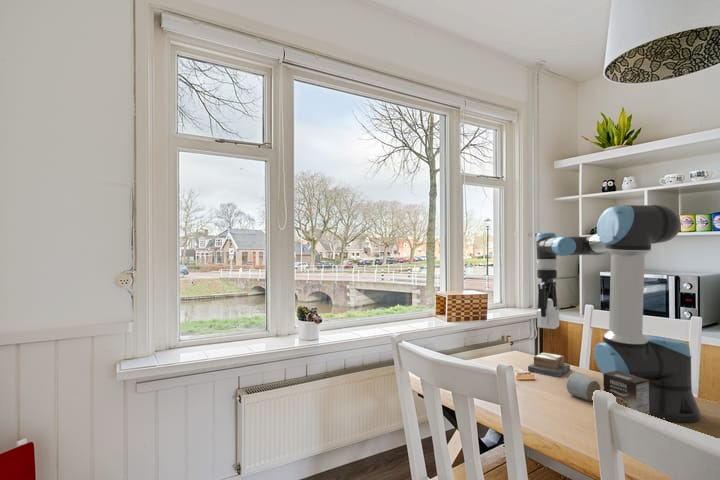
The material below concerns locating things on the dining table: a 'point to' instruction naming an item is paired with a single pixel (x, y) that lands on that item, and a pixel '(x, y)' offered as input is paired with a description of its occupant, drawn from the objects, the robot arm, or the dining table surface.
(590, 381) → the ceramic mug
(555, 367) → the pedestal stand
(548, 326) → the medicine bottle
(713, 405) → the dining table surface
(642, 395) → the coffee box
